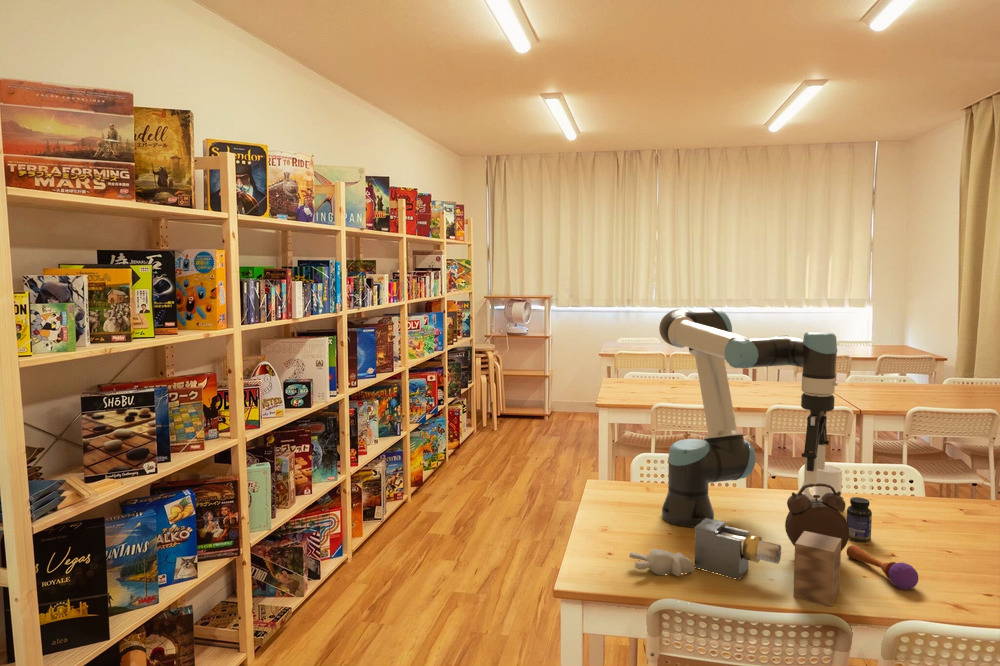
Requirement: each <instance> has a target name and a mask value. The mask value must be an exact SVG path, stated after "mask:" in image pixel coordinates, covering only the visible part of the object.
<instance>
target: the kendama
mask: <svg viewBox="0 0 1000 666" xmlns="http://www.w3.org/2000/svg"><path fill="white" fill-rule="evenodd" d="M846 555H847V557H849V558H851V559H854V560H856V561H858V562H859V561H860V562H863V563H866V564H869V565H872V566H873V567H874V566H875V567H877V568H880V569H881V571H882V572H883V573H884V576H885V577H886V578H888V580H889V581H890V582H891V583H892V584H893V585H894V586H895V587H896V588H897V589H901V590H912V589H914V588H915V587H917V584H918V582H919V573H918V572H917V570H916V569H915V568H914V567H913V566H912V565H911V564H908V563H906V562H895V561H891V562H884V563H883V562H882V561H879V560H877V559H876V558H875V557H873V556H872V555H870V554H869V553H867V552H866V551H864V550H862V549H861V548H860V547H858V546H856V545H854V544H851V545H849V546H848V547H847V548H846Z"/></svg>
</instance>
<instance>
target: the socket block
mask: <svg viewBox="0 0 1000 666" xmlns="http://www.w3.org/2000/svg"><path fill="white" fill-rule="evenodd" d="M794 554H795V555H794V561H793V562H794V564H793V565H794V568H793V593H792V596H793V597H794V598H797V599H801V600H806V601H809V602H812V603H816V604H820V605H824V606H828V607H831V608H832V607H833V605H834V603H835V601H836V599H837V596H838V595H839V592H840V582H841V563H842V562H841V560H842V559H841V558H842V557H841V555H842V551H841V538H836V537H831V536H826V535H822V534H817V533H812V532H807V531H804V532H803V533H802V535H801V536H800V537H799V539H798V540H797V541H796V543H795V546H794Z"/></svg>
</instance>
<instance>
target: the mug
mask: <svg viewBox="0 0 1000 666" xmlns="http://www.w3.org/2000/svg"><path fill="white" fill-rule="evenodd" d="M842 481H843V469H841V468H840V467H838V466H834V465H830V464H829V465H828V464H825V470H820V469H817V483H821V484H827V485H830V486H832V487H833V488H834V490H835V491H836V493H837V492H839V491H840V492H841V493H842V485H843V484H842V483H843V482H842ZM807 484H810V483H804V480H803V481H802V485H801V488H802V487H803V486H804V485H807ZM826 493H833V491H832V490H831V488H828V487H823V486H812V492H811V491H810V487H808V488H805V490H804V491H803V492H802V494H805V495H806V496H807V497H808V498H809V499H816V498H814V497H813V495H820V498H817V500H821V498H822V496H823V495H824V494H826ZM840 496H841V497H842V494H841V495H840ZM821 501H822V500H821Z"/></svg>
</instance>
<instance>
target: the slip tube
mask: <svg viewBox="0 0 1000 666" xmlns="http://www.w3.org/2000/svg"><path fill="white" fill-rule="evenodd" d="M717 534H720V535H724V536H728V537H733V538H737V539H741V555H743V558H744V559H745V560H749V561H750V562H754V563H760V561H764V562H769V563H771V564H776V565H779V563H780V561H781V555H782V545H781V544H776V543H772V542H767V541H764V540H763V538H762V537H761V536H757V535H753V534H750V533H749V534H747V535H746V537H743V536H738V535H734V534H729V533H725V532H721V531H719V532H718V533H717ZM749 561H748V562H749Z"/></svg>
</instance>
